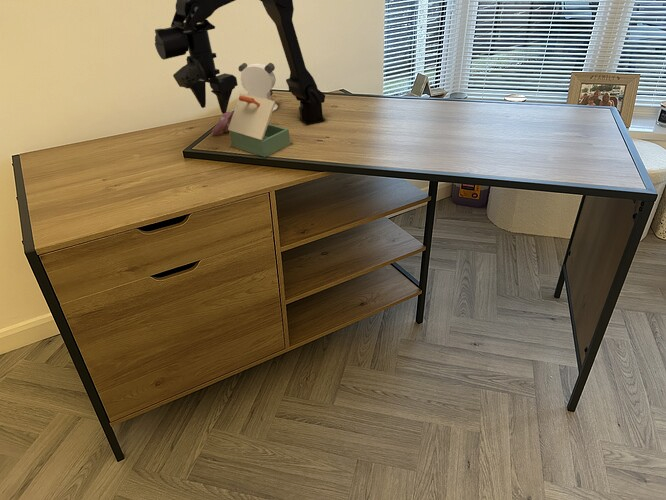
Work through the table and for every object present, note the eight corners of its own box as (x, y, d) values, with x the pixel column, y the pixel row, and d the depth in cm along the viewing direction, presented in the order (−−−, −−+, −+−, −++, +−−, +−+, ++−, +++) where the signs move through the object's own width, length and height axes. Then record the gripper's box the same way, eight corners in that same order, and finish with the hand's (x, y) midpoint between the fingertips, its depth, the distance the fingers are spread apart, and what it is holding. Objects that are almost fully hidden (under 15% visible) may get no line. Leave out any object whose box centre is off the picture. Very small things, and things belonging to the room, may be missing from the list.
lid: (241, 93, 139) (230, 87, 135) (276, 101, 131) (264, 95, 127) (229, 130, 140) (217, 125, 137) (262, 140, 132) (251, 135, 128)
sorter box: (257, 134, 149) (255, 119, 146) (290, 144, 141) (288, 128, 138) (232, 146, 143) (228, 131, 140) (264, 157, 135) (261, 141, 132)
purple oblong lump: (223, 140, 151) (228, 121, 147) (210, 134, 150) (215, 115, 146) (234, 128, 159) (240, 110, 154) (222, 122, 158) (227, 104, 154)
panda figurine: (283, 103, 171) (277, 59, 163) (273, 114, 163) (266, 68, 154) (252, 103, 174) (244, 60, 165) (240, 114, 165) (232, 69, 156)
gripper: (153, 54, 124) (169, 113, 133) (196, 62, 113) (211, 126, 122) (189, 44, 130) (202, 101, 139) (232, 51, 120) (244, 112, 129)
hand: (213, 110), depth 132 cm, fingers open, 9 cm apart
